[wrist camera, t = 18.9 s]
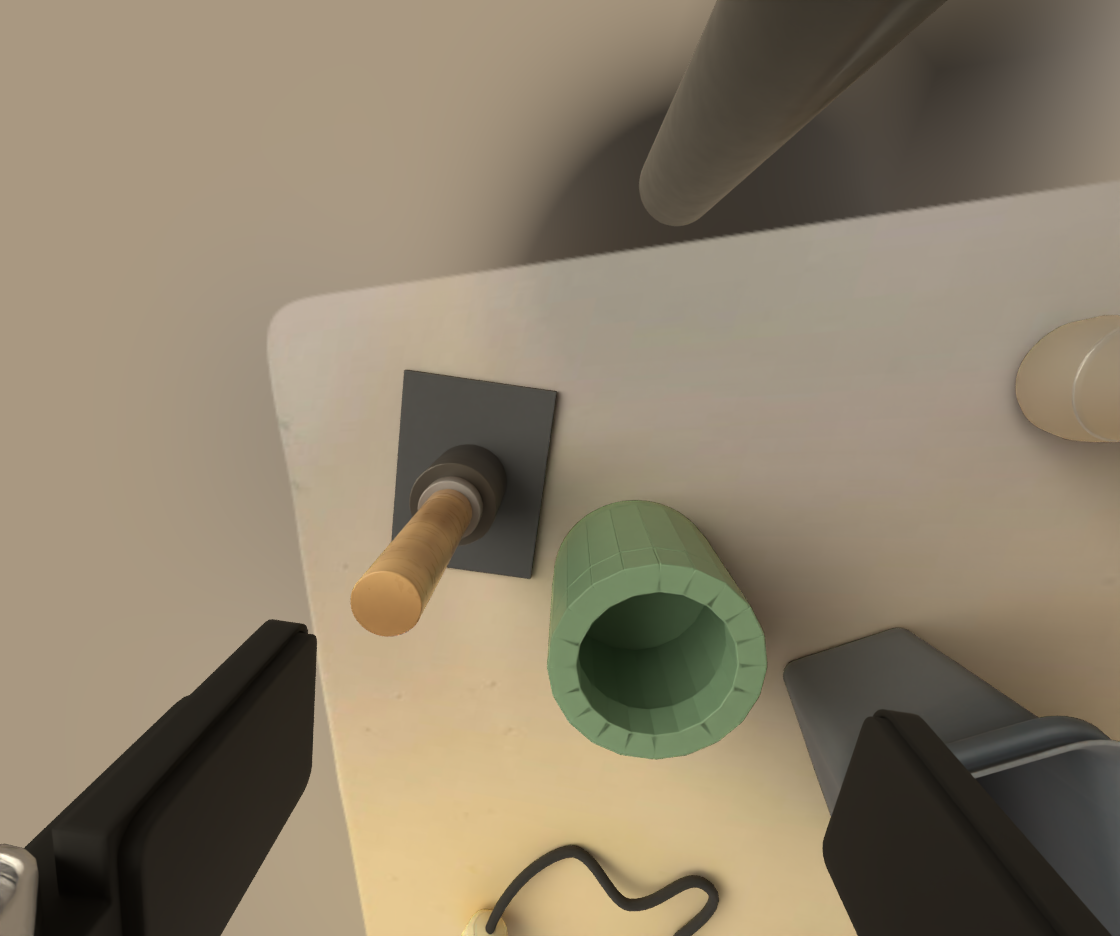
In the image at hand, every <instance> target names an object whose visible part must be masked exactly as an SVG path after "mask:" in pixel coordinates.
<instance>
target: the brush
mask: <svg viewBox="0 0 1120 936" xmlns="http://www.w3.org/2000/svg"><path fill="white" fill-rule="evenodd" d="M506 487H507V477H506V473H505V470H504V467H503V465H502V463H501V462H500V460H499V459H498V458H497V457H496V456H495V455H494V454H493V453H492V452H490V451H489V450H487V449H485V448H483V447H481V446H477V445H472V444H463V445H458V446H455V447H452V448H450V449H448V450H447V451H445V452H444V453H443V454H442V455H441V456H440V457H439V458H438V459H437V460H436V461H435V462H434V463H432V464H431V465H430V466H429V467H428V468H427V469H426V470H425V471H424V472H423V473H422V474H421V475H420V476H419V477H418V478H417V480H416V481H415V483H414V485H413V487H412V490H411V493H410V499H409V505H410V512H411V515H412V518H411V520H410V521H409V522H408V523H407V524H406V526H405V527H404V528H403V529H402V530H401V531H400V533H399V534H398V535H397V536H396V537H395V538H394V540H393V541H392V542H391V543H390V544H389V546H388V547H387V548H386V549H385V550H384V551H383V553H382V554H381V555H380V556H379V557H378V558H377V560H376V561H375V562H374V563H373V564H372V565H371V567H370V568H369V569H368V570H367V571H366V573H365V574H364V575H363V576H362V577H361V578H360V580H359V581H358V582H357V583H356V585H355V586H354V588H353V590H352V594H351V609H352V612H353V614H354V616H355V618H356V620H357V621H358V622H359V623H360V624H361V625H362V626H363V627H364V628H365V629H366V630H368V631H370V632H372V633H374V634H377V635H380V636H398V635H401V634H403V633H406V632H407V631H409V630H410V629H412V628H413V627H414V626H415V625H416V623H417V622H418V620H419V619H420V617H421V615H422V613H423V611H424V609H425V607H426V605H427V603H428V601H429V600H430V598H431V596H432V594H433V592H434V590H435V588H436V586H437V584H438V582H439V580H440V579H441V577H442V575H443V573H444V571H445V569H446V567H447V565H448V563H449V561H450V559H451V558H452V556H453V554H454V552H455V550H456V548H457V546H463V545H468V544H471V543H473V542H475V541H477V540H479V539H480V538H482V537H483V536H484V535H485V534H486V533H487V532H488V531H489V529H490V528H491V526H492V524H493V522H494V520H495V517H496V515H497V512H498V510H499V507H500V505H501V502H502V500H503V497H504V495H505V492H506Z"/></svg>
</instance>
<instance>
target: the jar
mask: <svg viewBox="0 0 1120 936" xmlns="http://www.w3.org/2000/svg"><path fill="white" fill-rule="evenodd" d="M547 669H548V674H549V679H550V684H551V689H552V694H553V696H554V698H555V700H556V702H557V703H558V705H559V707H560V708H561V710H562V712H563V713H564V715H565V717H566V718H567V720H568V721H569V723H570V724H571V725H572V726H574V727H575V728H576V729H577V730H578V731H579V732H581V733H582V734H583V735H584V736H585V737H586V738H588V739H589V740H590V741H591V742H593V743H594V744H597V745H599V746H601V747H604V748H606V749H608V750H611V751H613V752H615V753H617V754H620V755H625V756H633V757H640V758H648V759H663V758H670V757H678V756H685V755H688V754H691V753H693V752H696V751H698V750H700V749H703V748H705V747H707V746H710V745H712V744H714V743H716V742H718V741H720V740H721V739H722V738H723V737H725V736H726V735H727V734H728V733H729V732H731V731H732V730H733V729H734V728H736V727H737V726H738V725H739V724H740V723H742V721H743V720H744V719H745V717H746V716H747V714H748V713H749V711H750V710H751V708H752V707H753V705H754V704H755V702H756V701H757V699H758V698H759V695H760V693H761V689H762V685H763V681H764V678H765V674H766V670H767V655H766V645H765V636H764V632H763V630H762V628H761V626H760V624H759V622H758V620H757V618H756V616H755V614H754V612H753V610H752V608H751V606H750V605H749V603H748V602H747V600H746V599H745V597H744V596H743V594H742V593H741V591H740V590H739V588H738V586H737V585H736V583H735V582H734V580H733V579H732V577H731V576H730V574H729V573H728V571H727V570H726V568H725V567H724V565H723V564H722V562H721V561H720V559H719V558H718V556H717V555H716V553H715V552H714V550H713V549H712V547H711V546H710V544H709V543H708V541H707V540H706V538H705V537H704V536H703V535H702V534H701V532H700V531H699V530H698V529H697V527H696V526H695V525H694V524H693V523H692V522H691V521H690V520H689V519H687V518H686V517H685V516H683V515H682V514H680V513H679V512H678V511H676V510H674V509H672V508H670V507H667V506H664V505H662V504H659V503H654V502H649V501H640V500H632V501H622V502H616V503H612V504H609V505H606V506H603V507H601V508H599V509H597V510H595V511H593V512H591V513H590V514H588V515H587V516H585V517H584V518H583V519H582V520H580V521H579V522H578V523H577V524H576V525H575V526H574V527H573V528H572V529H571V530H570V532H569V533H568V534H567V536H566V537H565V539H564V541H563V542H562V544H561V546H560V549H559V551H558V554H557V557H556V561H555V566H554V576H553V583H552V598H551V613H550V627H549V643H548V658H547Z"/></svg>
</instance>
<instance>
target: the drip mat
mask: <svg viewBox="0 0 1120 936" xmlns="http://www.w3.org/2000/svg"><path fill="white" fill-rule="evenodd" d="M556 394H557V392H556V391H551V390H544V389H537V388H530V387H523V386H516V385H509V384H502V383H495V382H488V381H481V380H474V379H467V378H460V377H453V376H446V375H439V374H433V373H426V372H419V371H412V370H404V380H403V394H402V407H401V420H400V434H399V447H398V461H397V474H396V487H395V501H394V514H393V527H392V541H393V540H394V538H395V537H396V536H397V535H398V534H399V533H400V531H401V530H402V529H403V528H404V527H405V526H406V524H407V523H408V522H409V521H410V520H411V518H412V515H411V512H410V505H409V499H410V493H411V490H412V487H413V485H414V483H415V481H416V480H417V478H418V477H419V476H420V475H421V474H422V473H423V472H424V471H425V470H426V469H427V468H428V467H429V466H430V465H431V464H432V463H434V462H435V461H436V460H437V459H438V458H439V457H440V456H441V455H442V454H443V453H444V452H445V451H447V450H448V449H450V448H452V447H455V446H458V445H463V444H472V445H477V446H481V447H483V448H485V449H487V450H489V451H490V452H492V453H493V454H494V455H495V456H496V457H497V458H498V459H499V460H500V462H501V463H502V465H503V467H504V470H505V473H506V477H507V487H506V492H505V495H504V497H503V500H502V502H501V505H500V507H499V510H498V512H497V515H496V517H495V520H494V522H493V524H492V526H491V528H490V529H489V531H488V532H487V533H486V534H485V535H484V536H483V537H482V538H480V539H479V540H477V541H475V542H473V543H471V544H468V545H463V546H457V548H456V550H455V552H454V554H453V556H452V558H451V559H450V561H449V563H448V565H447V567H448V568H455V569H462V570H469V571H477V572H484V573H491V574H498V575H506V576H513V577H520V578H527V579H530V578H531V572H532V565H533V558H534V551H535V544H536V537H537V529H538V522H539V515H540V508H541V501H542V494H543V486H544V479H545V472H546V465H547V458H548V451H549V444H550V436H551V429H552V422H553V415H554V408H555V401H556ZM392 541H391V542H392Z"/></svg>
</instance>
